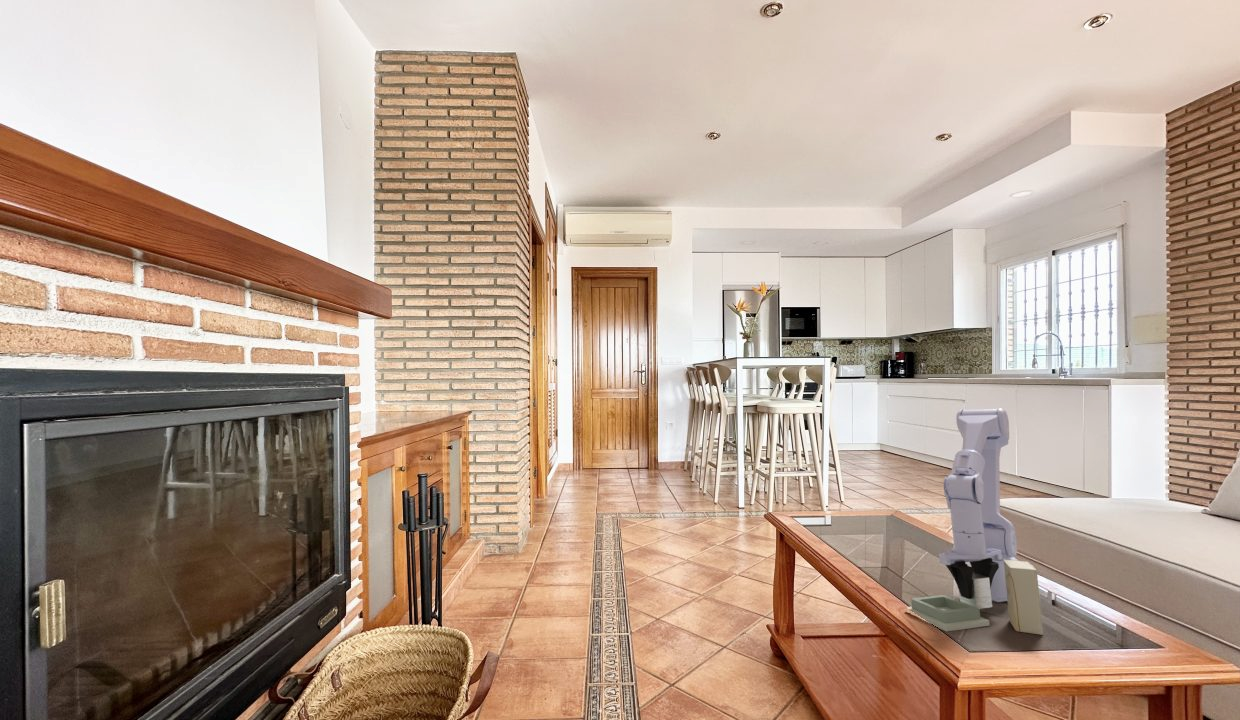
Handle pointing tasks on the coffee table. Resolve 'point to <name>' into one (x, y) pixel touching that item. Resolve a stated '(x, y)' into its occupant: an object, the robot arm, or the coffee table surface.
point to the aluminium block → (979, 592)
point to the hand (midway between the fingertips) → (975, 596)
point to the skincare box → (1023, 596)
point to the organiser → (947, 613)
